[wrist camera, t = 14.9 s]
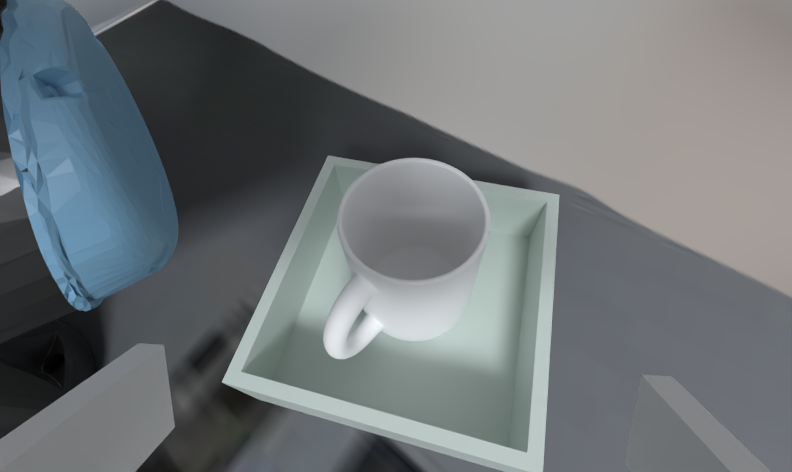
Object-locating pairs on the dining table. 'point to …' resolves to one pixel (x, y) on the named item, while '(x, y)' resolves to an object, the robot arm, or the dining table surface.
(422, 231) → the mug
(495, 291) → the bin
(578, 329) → the dining table surface
